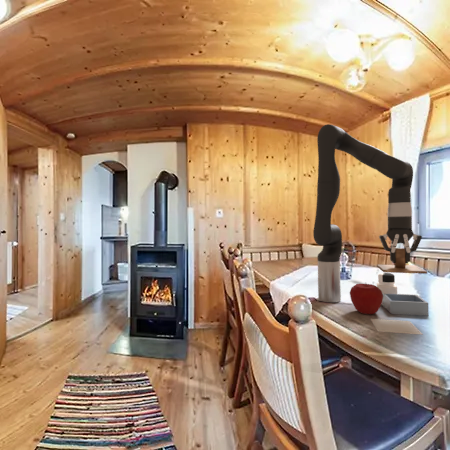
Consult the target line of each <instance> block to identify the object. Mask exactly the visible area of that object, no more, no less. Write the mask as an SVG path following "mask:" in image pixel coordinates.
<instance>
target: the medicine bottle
mask: <svg viewBox="0 0 450 450" xmlns="http://www.w3.org/2000/svg"><path fill="white" fill-rule="evenodd" d="M395 276H396V275H394V274H393V273H391V272H380V273H378V274H377V278H378V279H377V280H378V281H377V283H376V286H377V287H378V288H379V289H380V290H381V291H382V294H383V293H385V294H398V287H397V285H396V283H395V278H396V277H395ZM381 304H383V299H382V303H381Z"/></svg>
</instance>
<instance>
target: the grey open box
mask: <svg viewBox="0 0 450 450" xmlns="http://www.w3.org/2000/svg"><path fill="white" fill-rule="evenodd" d="M382 307H383V308H384V309H386V310H387V311H388V313H390V314H392V315H393V314H395V315H409V316H411V315H412V316H429V315H430V313H429V302H427V301H426V300H425V299H424V298H422V297H420V296H419V295H418V294H408V293H407V294H405V293H402V294H401V293H397V294H385V293H383V303H382Z"/></svg>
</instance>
